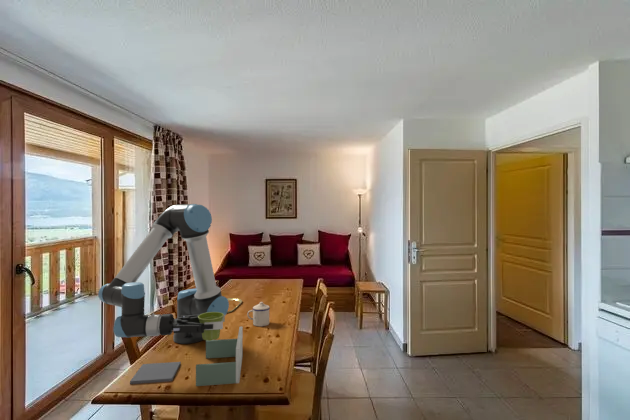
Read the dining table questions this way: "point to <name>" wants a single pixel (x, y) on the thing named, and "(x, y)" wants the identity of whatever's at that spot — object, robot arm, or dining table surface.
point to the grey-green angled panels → (221, 371)
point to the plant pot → (210, 317)
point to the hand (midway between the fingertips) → (223, 321)
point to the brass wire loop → (235, 300)
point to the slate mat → (156, 372)
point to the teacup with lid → (260, 314)
